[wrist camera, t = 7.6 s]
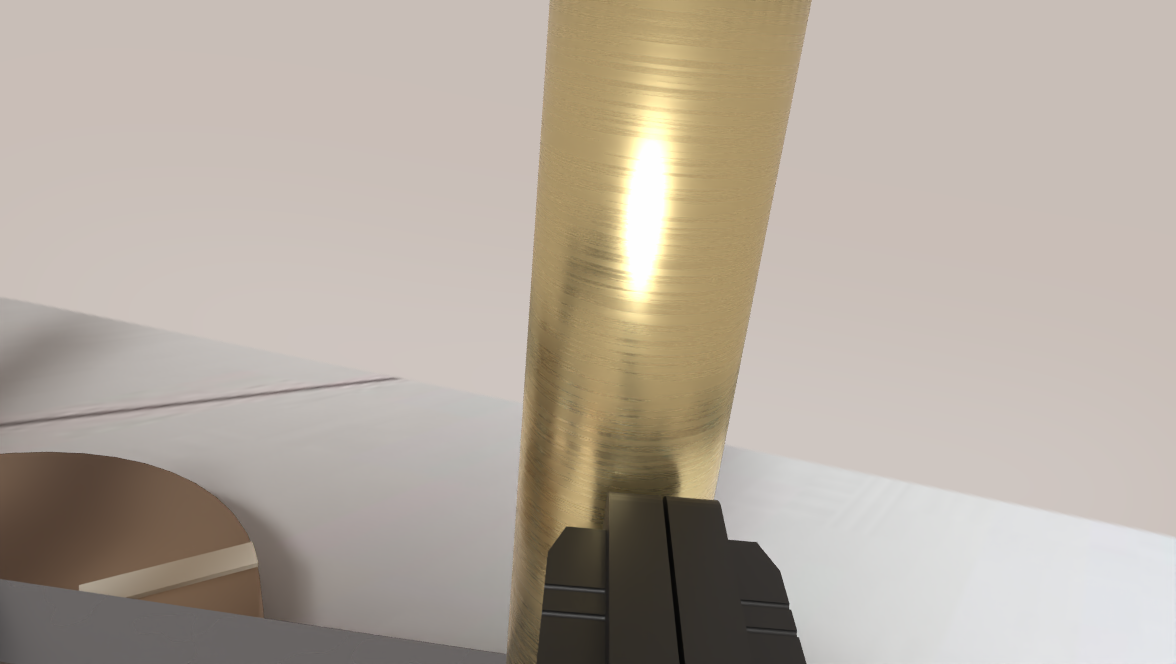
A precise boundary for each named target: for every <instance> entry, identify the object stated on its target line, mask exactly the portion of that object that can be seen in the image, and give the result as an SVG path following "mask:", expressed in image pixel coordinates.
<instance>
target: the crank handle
mask: <svg viewBox="0 0 1176 664" xmlns="http://www.w3.org/2000/svg"><path fill="white" fill-rule="evenodd" d="M811 1H812V0H550V6H549V21H548V36H547V53H546V67H545V82H544V96H543V112H542V127H541V142H540V158H539V173H538V187H537V202H536V218H535V234H534V248H533V264H532V278H531V293H530V309H529V325H528V339H527V354H526V370H525V385H524V400H523V415H522V430H521V445H520V460H519V475H518V491H517V506H516V521H515V536H514V551H513V566H512V582H511V597H510V612H509V627H508V642H507V654H501V653H494V652H488V651H481V650H474V649H467V648H461V647H454V646H447V645H441V644H434V643H427V642H420V641H414V640H407V639H400V638H393V637H387V636H380V635H373V634H367V633H360V632H353V631H346V630H340V629H333V628H326V627H319V626H313V625H306V624H299V623H293V622H286V621H279V620H272V619H266V618H259V617H252V616H246V615H239V614H232V613H225V612H219V611H212V610H205V609H198V608H192V607H185V606H178V605H172V604H165V603H158V602H151V601H145V600H138V599H131V598H124V597H118V596H111V595H104V594H98V593H91V592H84V591H77V590H71V589H64V588H57V587H50V586H44V585H37V584H30V583H24V582H17V581H10V580H3V579H0V664H536V663H537V653H538V643H539V633H540V623H541V614H542V604H543V594H544V584H545V574H546V564H547V554H548V551H549V549H550V548H551V547H552V545H553V544H554V543H555V541H556V540H557V538H558V537H559V536H560V534H561V533H562V532H563V530H564V529H565V527H566V526H568V527H579V528H591V529H602V528H603V520H604V512H605V504H606V497H607V492H608V491H612V492H623V493H635V494H647V495H658V496H661V497H662V500H663V497H664V496H673V497H684V498H696V499H708V500H714V495H715V490H716V485H717V480H718V475H719V470H720V465H721V459H722V454H723V449H724V444H725V439H726V433H727V429H728V424H729V418H730V414H731V409H732V403H733V398H734V393H735V388H736V383H737V377H738V373H739V368H740V362H741V357H742V352H743V347H744V342H745V337H746V332H747V327H748V322H749V317H750V312H751V307H752V302H753V296H754V291H755V286H756V281H757V276H758V271H759V266H760V261H761V256H762V250H763V245H764V240H765V235H766V230H767V225H768V220H769V214H770V209H771V205H772V200H773V194H774V189H775V184H776V179H777V174H778V169H779V164H780V159H781V153H782V149H783V144H784V138H785V133H786V128H787V123H788V118H789V113H790V108H791V103H792V98H793V93H794V87H795V82H796V77H797V72H798V67H799V62H800V56H801V52H802V47H803V41H804V36H805V31H806V26H807V21H808V16H809V11H810V6H811Z"/></svg>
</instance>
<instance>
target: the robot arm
mask: <svg viewBox="0 0 1176 664" xmlns="http://www.w3.org/2000/svg"><path fill="white" fill-rule="evenodd" d="M536 664H806V661H805V657H804V654H803V650H802V647H801V643H800V640H799V637H797V629H796V626H795V622H794V618H793V615H792V611H791V610H789V601H788V597H787V594H786V590H785V587H784V583H783V580H782V576H781V573H780V570H779V569H778V568H777V567H776V565H775V564H774V563H773V562H772V561H771V559H770V558H769V557H768V556H767V554H766V553H765V552H764V551H763V550H762V548H761V547H760V546H759V545H758V543H757V542H747V541H735V540H728V538H727V533H726V528H725V523H724V519H723V514H722V509H721V505H720V503H719V501H718V500H708V499H696V498H684V497H673V496H664V497H663V500H662V497H661V496H658V495H647V494H635V493H623V492H612V491H608V492H607V497H606V504H605V512H604V520H603V528H602V529H591V528H579V527H568V526H566V527H565V529H564V530H563V532H562V533H561V534H560V536H559V537H558V538H557V540H556V541H555V543H554V544H553V545H552V547H551V548H550V549H549V551H548V554H547V564H546V574H545V584H544V594H543V604H542V614H541V623H540V633H539V643H538V653H537V663H536Z"/></svg>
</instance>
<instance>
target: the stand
mask: <svg viewBox="0 0 1176 664" xmlns="http://www.w3.org/2000/svg"><path fill="white" fill-rule="evenodd" d="M258 566H259V564H258V559H257V556H256V552H255V549H254V545H253V542H250V540H249V537H248V535H247V533H246V531H245V530H244V528H243V527H242V525H241V524H240V522H239V521H238V519H237V518H236V517H235V515H234V514H233V513H232V512H231V511H230V510H229V509H228V508H227V507H226V506H225V505H224V504H223V503H222V502H221V501H220V500H219V499H218V498H217V497H215V496H214V495H212V494H211V493H209V492H208V491H206V490H205V489H203V488H202V487H200V486H199V485H197V484H196V483H194V482H192V481H190V480H188V479H185V478H183V477H181V476H179V475H177V474H175V473H173V472H170V471H167V470H164V469H161V468H158V467H155V466H152V465H148V464H145V463H141V462H136V461H131V460H127V459H122V458H117V457H110V456H101V455H93V454H85V453H62V452H30V453H6V454H0V579H3V580H10V581H17V582H24V583H30V584H37V585H44V586H50V587H57V588H64V589H71V590H77V591H84V592H91V593H98V594H104V595H111V596H118V597H124V598H131V599H138V600H145V601H151V602H158V603H165V604H172V605H178V606H185V607H192V608H198V609H205V610H212V611H219V612H225V613H232V614H239V615H246V616H252V617H259V618H264V612H263V603H262V594H261V585H260V578H259V572H258Z"/></svg>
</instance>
